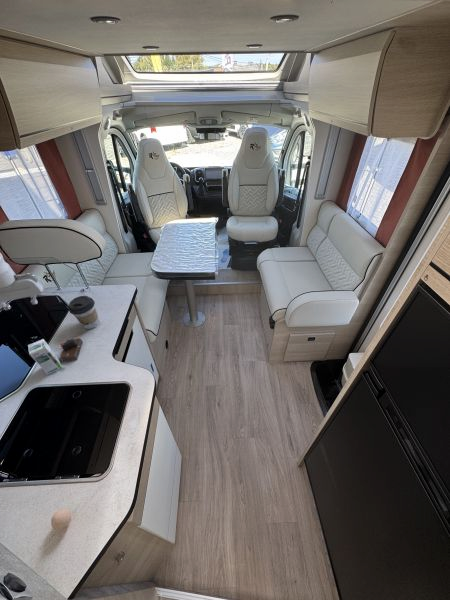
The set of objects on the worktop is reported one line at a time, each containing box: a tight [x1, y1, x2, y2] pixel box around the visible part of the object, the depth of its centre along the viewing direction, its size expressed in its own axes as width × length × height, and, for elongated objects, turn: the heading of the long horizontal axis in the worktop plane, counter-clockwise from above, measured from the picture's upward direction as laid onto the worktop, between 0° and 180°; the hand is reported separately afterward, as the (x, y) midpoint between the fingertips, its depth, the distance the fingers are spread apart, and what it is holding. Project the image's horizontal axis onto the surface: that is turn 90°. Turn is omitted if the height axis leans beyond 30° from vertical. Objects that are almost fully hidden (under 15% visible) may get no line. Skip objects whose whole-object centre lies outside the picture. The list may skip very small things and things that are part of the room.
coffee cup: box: [67, 295, 100, 330], centre depth 122 cm, size 11×11×15 cm
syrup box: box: [27, 338, 63, 376], centre depth 104 cm, size 6×6×14 cm
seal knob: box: [60, 338, 77, 351], centre depth 111 cm, size 5×2×4 cm, turn 129°
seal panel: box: [59, 337, 84, 363], centre depth 114 cm, size 10×9×3 cm
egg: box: [50, 508, 72, 531], centre depth 69 cm, size 4×4×6 cm
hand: (22, 306), depth 99 cm, fingers open, 8 cm apart
